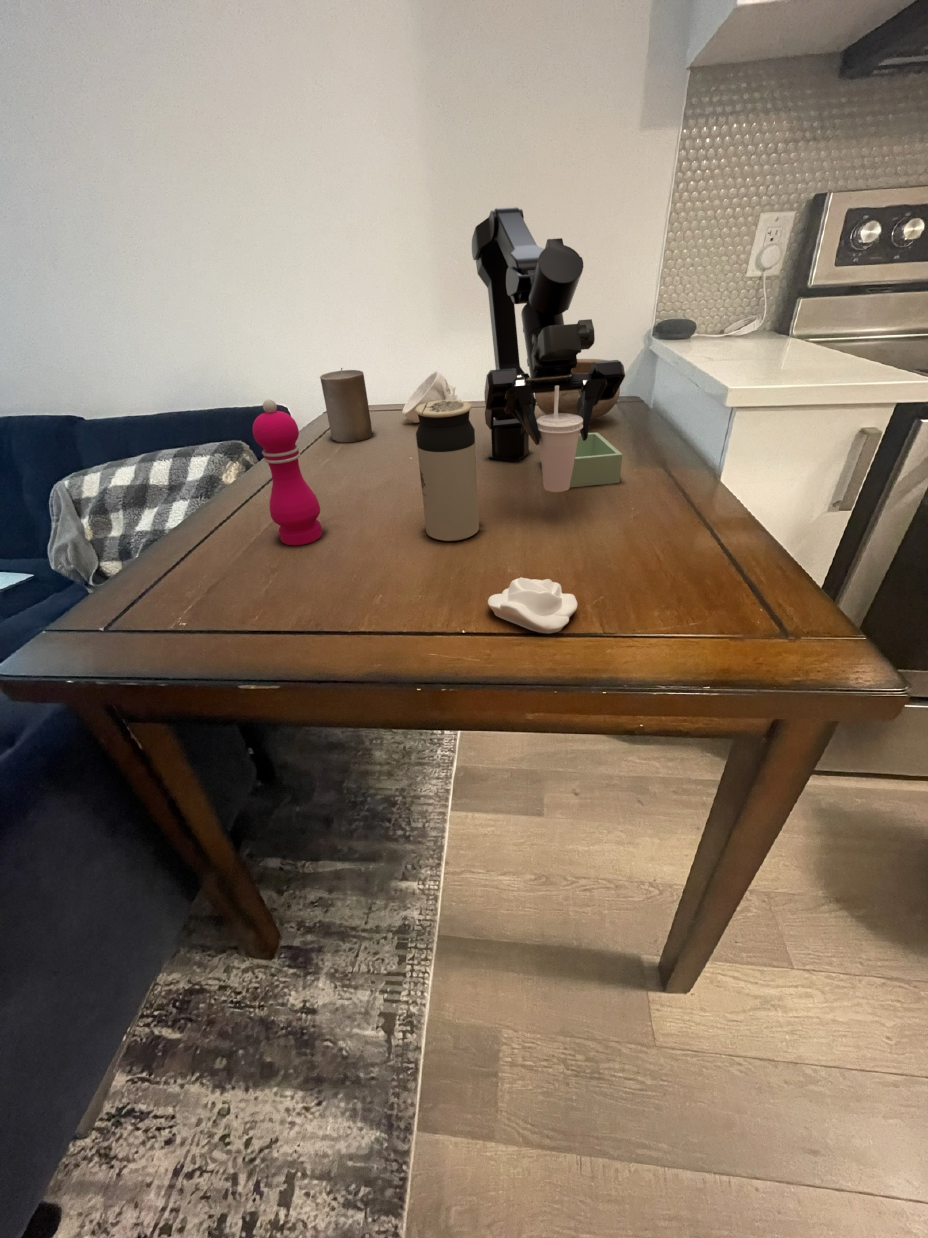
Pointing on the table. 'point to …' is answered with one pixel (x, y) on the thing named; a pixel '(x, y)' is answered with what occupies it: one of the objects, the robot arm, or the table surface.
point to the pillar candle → (347, 405)
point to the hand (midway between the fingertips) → (561, 441)
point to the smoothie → (558, 446)
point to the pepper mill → (287, 477)
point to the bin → (595, 462)
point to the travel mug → (448, 469)
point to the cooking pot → (575, 396)
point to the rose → (534, 605)
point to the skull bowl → (429, 394)
